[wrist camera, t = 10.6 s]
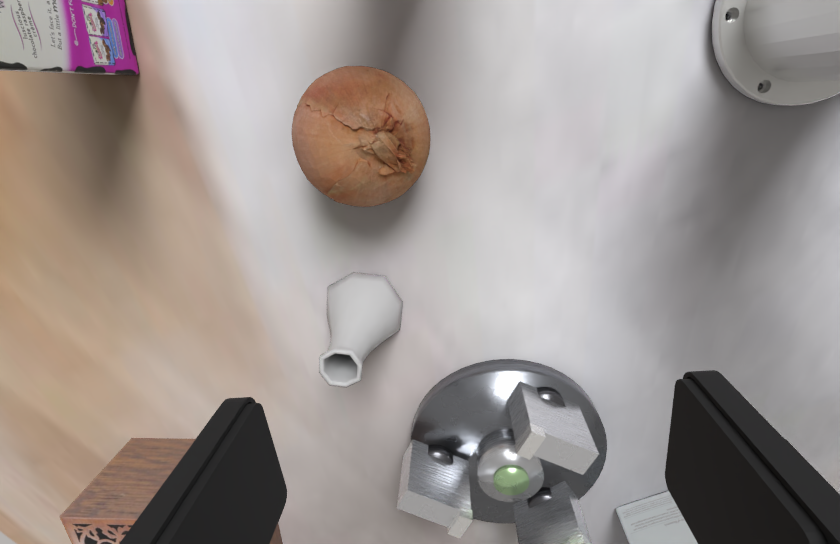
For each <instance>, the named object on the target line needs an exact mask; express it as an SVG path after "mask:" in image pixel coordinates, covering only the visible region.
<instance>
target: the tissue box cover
mask: <svg viewBox="0 0 840 544" xmlns="http://www.w3.org/2000/svg"><path fill="white" fill-rule="evenodd" d="M195 440H196V439H155V438H131V439H130V441H129V442H128V443H127V444H126V445H125V446H124V447H123V448H122V449H121V450H120V451H119V452H118V454H117V455H116V456H115V457H114V458H113V459H112V460H111V461H110V462H109V463H108V464H107V466H106V467H105V468H104V469H103V470H102V471H101V472H100V473H99V474H98V475H97V476H96V477H95V479H94V480H93V481H92V482H91V483H90V484H89V485H88V486H87V487H86V488H85V489H84V490H83V492H82V493H81V494H80V495H79V496H78V497H77V498H76V499H75V500H74V501H73V502H72V504H71V505H70V506H69V507H68V508H67V509H66V510H65V511H64V512H63V513H62V514H61V515H60V519H61V521H62V523H63V525H64V527H65V529H66V532H67V534H68V536H69V538H70V540H71V542H72V544H119V543H120V542H121V541H122V539H123V538H124V536H125V535H126V534H127V532H128V531H129V530H130V528H131V527H132V526H133V524H134V523H135V521H136V520H137V519H138V517H139V516H140V515H141V513H142V512H143V511H144V509H145V508H146V506H147V505H148V504H149V502H150V501H151V500H152V498H153V497H154V496H155V494H156V493H157V491H158V490H159V489H160V487H161V486H162V485H163V483H164V482H165V481H166V479H167V478H168V476H169V475H170V474H171V472H172V471H173V470H174V468H175V467H176V466H177V464H178V463H179V461H180V460H181V459H182V457H183V456H184V455H185V453H186V452H187V451H188V449H189V448H190V446H191V445H192V444H193V442H194V441H195ZM270 544H283V543H282V539H281V534H280V530H279V525H278V524H277V526H276V529H275V531H274V534H273V536H272V539H271V541H270Z"/></svg>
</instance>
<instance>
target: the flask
mask: <svg viewBox="0 0 840 544" xmlns="http://www.w3.org/2000/svg"><path fill="white" fill-rule="evenodd" d="M402 304H403V301H402V300H401V298H400V297H399V295H398V294H397V292H396V291H395V289H394V288H393V286H392V285H391V283H390V282H389V280H388V279H387V277H386V276H381V275H372V274H363V273H355V272H353V273H352V274H350V275H348V276H346V277H344V278H343V279H341V280H339V281H337V282H336V283H334V284H332V285H330V286H328V292H327V319H328V324H329V328H330V335H331V342H330V346H329V348H328V350H327V352H325V353H323V354H321V355H320V357H319V373H320V374H321V375H322V377H323V378H324V379H325V381H326V382H327V383H328V384H329V385H330V386H339V387H348V386H350V385H353V384H355V383H357V382H359V381H361V379H362V363H363V361H364V360H365V358H366V357H367V356H368V354H369V353H370V352H371V351H372V350H373V349H375V348H376V347H377V346H378V345H379V344H381V343H382V342H383V341H385V340H386V339H387V338H389V337H390V336H392V335H393V334H395V333H396V332H397V331H398V330H400V325H401V314H402Z"/></svg>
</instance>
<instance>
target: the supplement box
mask: <svg viewBox="0 0 840 544" xmlns="http://www.w3.org/2000/svg"><path fill="white" fill-rule="evenodd" d="M616 512H617V515H618V517H619V520H620V522H621V525H622V527H623V530H624V532H625V535H626V537H627V540H628V542H629V544H698V543H697V541H696V539H695V537H694V536H693V534H692V532H691V530H690V528H689V527H688V525H687V523H686V521H685V519H684V517H683V516H682V514H681V512H680V510H679V508H678V507H677V505H676V503H675V501H674V499H673V498H672V496H671V494H670V492H669V491H667V492H664V493H661V494H657V495H654V496H651V497H648V498H644V499H641V500H639V501H635V502H632V503H629V504H626V505H623V506H620V507H618V508H616Z"/></svg>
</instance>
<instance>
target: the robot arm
mask: <svg viewBox="0 0 840 544" xmlns="http://www.w3.org/2000/svg"><path fill="white" fill-rule="evenodd" d="M726 13H727V14H728V18H727V20H726V18H725V15H726ZM712 43H713V48H714V52H715V57H716V60H717V62H718V64H719V67H720V69H721V71H722V73H723V75H724V76H725V77H726V78H727V80H728V81H729V82H730V83H731V85H732V86H733V87H734V88H736V89H737V90H738V91H740V92H741V93H742V94H743V95H745V96H747V97H749V98H751V99H754V100H756V101H758V102H762V103H767V104H772V105H788V106H794V105H803V104H811V103H815V102H818V101H821V100H825V99H828V98H831V97H833V96H835V95H837V94H839V93H840V0H716V2H715V6H714V13H713V19H712ZM758 85H759V88H758ZM665 479H666V484H667V487H668V490H669V492H670V494H671V496H672V498H673V499H674V501H675V503H676V505H677V507H678V508H679V510H680V512H681V514H682V516H683V517H684V519H685V521H686V523H687V525H688V527H689V528H690V530H691V532H692V534H693V536H694V537H695V539H696V541H697V543H698V544H840V495H839V493H838V492H837V491H836V490H835V489H834V488H833V487H832V486H831V485H830V484H829V483H828V482H827V481H826V480H825V479H824V478H823V477H822V476H821V475H820V474H819V473H818V472H817V471H816V470H815V469H814V468H813V467H812V466H811V465H810V464H809V463H808V462H807V461H806V460H805V459H804V458H803V456H802V455H801V454H800V453H799V452H798V451H797V450H796V449H795V448H794V447H793V446H792V445H791V444H790V443H789V442H788V441H787V440H785V439H784V438H783V437H782V436H781V435H780V434H779V433H778V432H777V431H776V430H775V429H774V428H773V427H772V426H771V425H770V424H769V423H768V422H767V421H766V420H765V419H764V418H763V417H762V416H761V415H760V414H759V412H758V411H757V410H756V409H755V408H754V407H753V406H752V405H751V404H750V403H749V402H748V401H747V400H746V399H745V398H744V397H743V396H742V395H741V394H740V393H739V392H738V391H737V390H736V389H735V388H734V387H733V386H732V385H731V384H730V383H729V382H728V381H727V380H726V378H725V377H724V376H723V375H722V374H720V373H719V372H718V371H714V370H713V371H695V372H687V373H685V374H684V376H683V379H679V380H677V381H676V384H675V391H674V399H673V408H672V417H671V426H670V434H669V443H668V452H667V461H666V470H665ZM286 498H287V488H286V484H285V481H284V478H283V474H282V471H281V467H280V464H279V461H278V457H277V454H276V451H275V447H274V444H273V440H272V437H271V434H270V430H269V427H268V424H267V420H266V417H265V413H264V410H263V407H262V405H261V404H260V403H256V402H255V400H254V399H253V398H251V397H246V398H229V399H226V400H225V401H224V402H223V403H222V404H221V406H220V407H219V408H218V410H217V411H216V412H215V414H214V415H213V416H212V418H211V419H210V421H209V422H208V423H207V425H206V426H205V427H204V429H203V430H202V431H201V433H200V434H199V436H198V437H197V438H196V440H195V441H194V442H193V444H192V445H191V446H190V448H189V449H188V451H187V452H186V453H185V455H184V456H183V457H182V459H181V460H180V461H179V463H178V464H177V466H176V467H175V468H174V470H173V471H172V472H171V474H170V475H169V476H168V478H167V479H166V481H165V482H164V483H163V485H162V486H161V487H160V489H159V490H158V491H157V493H156V494H155V496H154V497H153V498H152V500H151V501H150V502H149V504H148V505H147V506H146V508H145V509H144V511H143V512H142V513H141V515H140V516H139V517H138V519H137V520H136V521H135V523H134V524H133V526H132V527H131V528H130V530H129V531H128V532H127V534H126V535H125V536H124V538H123V539H122V541H121V542H120V543H119V544H270V541H271V539H272V536H273V534H274V531H275V529H276V526H277V524H278V521H279V519H280V516H281V514H282V511H283V509H284V506H285V503H286Z"/></svg>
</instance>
